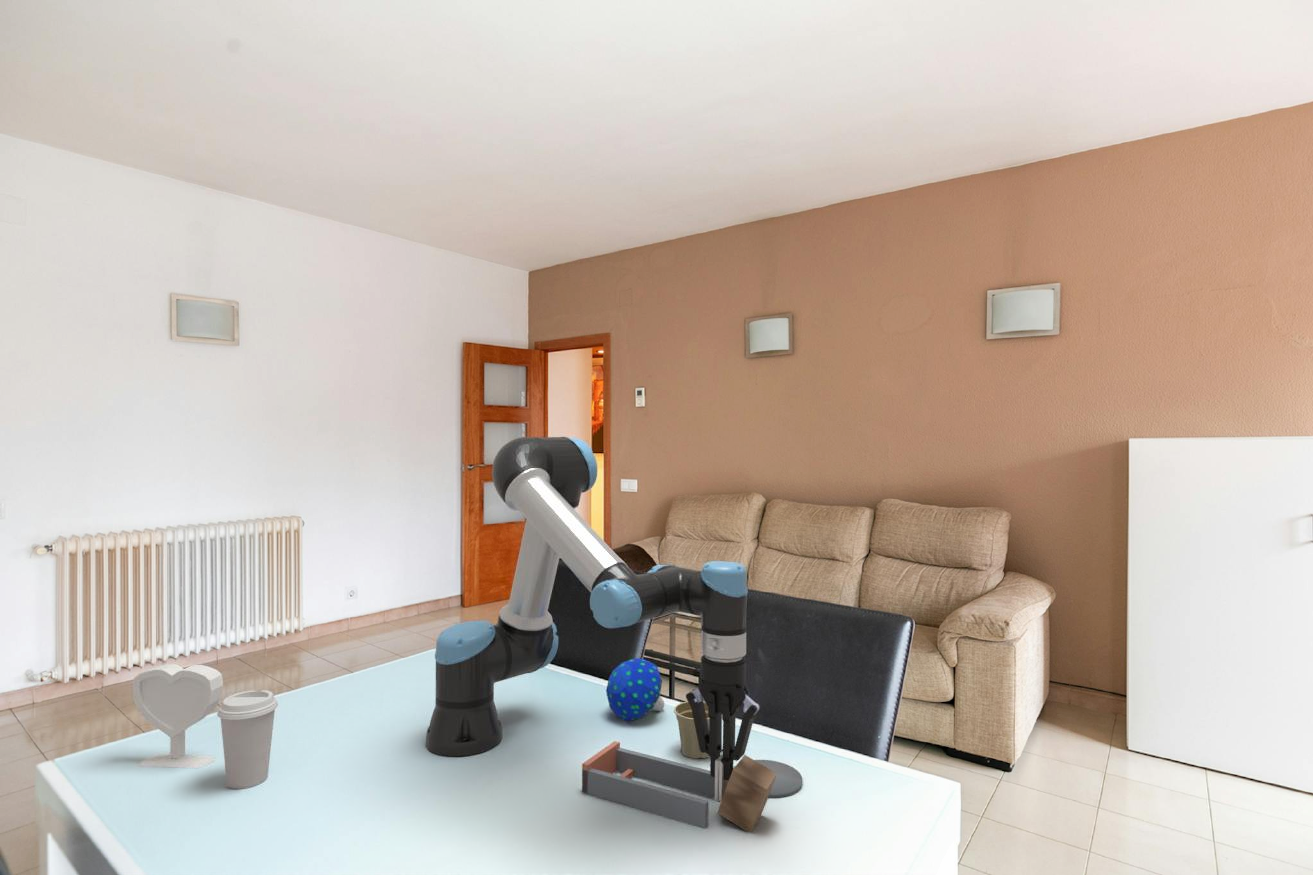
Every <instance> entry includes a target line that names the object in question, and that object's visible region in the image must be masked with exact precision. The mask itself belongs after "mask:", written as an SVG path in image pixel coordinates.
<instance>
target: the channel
mask: <svg viewBox="0 0 1313 875" xmlns="http://www.w3.org/2000/svg"><path fill="white" fill-rule="evenodd" d="M581 766H582V767H581V792H582V793H585V794H589V795H591V796H595V797H598V798H601V799H604V800H608V801H612V802H615V803H617V804H622V805H623V806H624V805H625V806H628V807H631V808H634V809H638V810H641V811H645V812H648V813H651V814H655V815H657V816H662V817H665V818H667V819H672V820H674V821H677V822H681V823H685V824H687V825H691V826H695V827H698V828H701V829H705V830H706V828H707V827H708V826H709V804H710V802H709V800H708V799H705V798H699V797H697V796H696V797H695V796H693V795H688V794H686V793H683V792H679V791H675V790H672V789H668V788H665V787H660V786H658V785H653V784H649V783H646V782H642V781H639V780H636V779H633V777H636V778H639V779H642V780H647V781H650V782H654V783H658V784H661V785H664V786H665V785H666V786H668V787H672V788H675V789H678V790H683V791H687V792H690V793H693V794H696V795H697V794H698V795H702V796H705V797H708V798H712V799H715V777H711V774H710V769H705V768H701V767H697V766H693V765H691V764H685V763H682V762H678V761H675V760H674V761H673V760H669V759H665V758H661V757H658V756H653V755H650V754H646V753H643V752H639V751H634V750H631V749H628V748H627V749H626V748H623V747H621V742H619V741H618V740H616V741H615V740H614V741H613V742H611V743H609V744H608V745H607V746H605V747H604V748H603V749H601V750H600V751H598V752H596V753H595V754H594V755H592V756H591V757H590V758H588V759H587V760H586V761H584V762H583V763H581ZM617 772H618V773H621V774H620V775H619V774H618V775H617V774H615V773H617ZM728 782H729V781H728Z"/></svg>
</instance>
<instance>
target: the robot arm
mask: <svg viewBox="0 0 1313 875" xmlns="http://www.w3.org/2000/svg"><path fill="white" fill-rule="evenodd" d="M491 468H492V469H491V477H492V483H493V486H494V488H495V490H496V492H497V494H498V495H499V497H500V498H501V500H502V501H503V502H504V503H505V505H506V506H507V507H508V508H509V509H511V510H513V511H517V512H520V513H521V514H522V515H523V517H525V520H526V521H525V525H524V529H523V534H522V539H521V544H520V548H519V553H518V557H517V563H516V568H515V571H514V576H513V581H512V586H511V590H510V596H509V600H508V603H507V604H506V605H503V607H502V608H500V610H499V614H498V619H497V623H496V624H493V623H492V622H491V621H487V620H472V621H463V622H459V623H456V624H453V625H451V626H449V627H446V628H445V629H444V630H442V631H441V633H440V634H439V635H438V636H437V639H436V646H435V653H434V659H435V702H434V703H435V704H434V705H435V706H434V709H433V712H432V715H431V719H430V722H429V726H428V727H427V730H426V734H425V746H426V748H427V750H428V751H430V752H431V753H433V754H436V755H439V756H447V757H463V756H464V757H465V756H471V755H475V754H480V753H483V752H486V751H488V750H491V749H493V748H494V747H496V746H497V745H499V744H500V743H501V741H502V738H503V725H502V722H501V720H499V714H498V711H497V710H498V709H497V708H496V704H495V697H494V695H495V693H494V692H495V691H494V690H495V683H498V682H502V681H505V680H508V679H509V680H510V679H512V678H515V677H519V676H523V675H527V674H533V673H534V672H537V671H538V670H540V669H543V668H546V666H548V665H549V664H550V663H551V662H552V661H553V660H554V658H555V656H556V654H557V652H558V647H559V636H558V635H557V632H558V630H557V626H556V624H555V622H554V621H553V616H552V614H551V613H550V612H549V611H548V610H549V607H550V606H549V605H550V600H551V598H552V594H553V593H552V591H553V588H554V585H555V584H554V583H555V579H556V575H557V570H558V566H559V561H560V559H561V560H562V562H564V564H565V565H566V566H567V567H568V568H569V569H570V570H571V571H572V572H573V574H574V575H575V576H576V577H577V578H578V580H579V581H580V582H581V584H583V585H584V587H585V588H586V589H587V590H588V591H589V592H590V597H589V607H590V610H591V611H592V614H593V618H594V620H595V621H596V622H597V624H598V625H599V626H601V627H604V628H606V629H618V628H623V627H630V626H633V625H635V624H638V623H641V622H644V621H647V620H652V619H656V618H660V617H663V616H667V615H670V614H674V613H685V614H690V615H694V616H697V617H698V616H699V617H700V618H701V622H700V624H701V627H700V629H701V636H700V637H701V638H700V639H701V640H700V642H701V643H700V646H701V647H700V649H701V650H700V653H701V654H702V656H701V657H700V682H699V683H698V687H697V688H693V689H692V690H690V691H689V692H688V693H686V694H685V698H686V702H687V701H688V703H689V704H690V706H691V709H692V714H693V719H694V724H695V729H696V734H697V739H698V744H699V748H700V751H701V752H702V753H707V754H708V755H709V758H710V762H709V763H710V764H709V765H710V769H709V771H710V774H711V777H715V798H714V801H718V802H721V800H722V798H723V795H724V792H725V790H726V787H727V784H728V781H729V779H730V776H731V774H732V771H733V768H734V761H736V762H737V761H740V760H741V759H742V758H743V756H744V755H746V754H745V753H746V750H747V746H748V742H749V738H750V734H751V732H752V728H753V723H754V720H755V716H756V714H758V712H759V711H760V709H761V708H762V705H761V703H760V701H754V700H753V699H752V698H751V697H749V691H748V689H747V686H746V679H747V678H746V677H747V674H746V673H747V659H746V657H745V656H746V655H747V601H748V592H749V589H748V586H747V585H748V583H747V579H748V578H747V569H746V567H745V566H744V565H743V564H742V563H739V562H735V561H726V560H725V561H724V560H714V561H713V560H712V561H708V562H705V563H704V564H703V566H702V568H701V570H698V569H697V570H696V569H691V568H687V567H686V568H685V567H679V566H676V565H672V564H667V565H666V564H665V565H664V564H657V565H654V566H652V568H651V569H650V570H648V571H647V572H646V573H641V574H636V573H635V572H634V571H633V570H632V569H631V568H630V567H629V566H628V565H627V563H625V562H624V561H623V560H622V559H621V557H620V556H619V555H617V553H616V552H615V551H614V550H613V549H612V548H611V547H610V546H609V545H608V543H606V542H605V541H604V539H603V538H602V537H601V536H600V535H599V534H598V533H597V532H596V531H595V530H594V529H593V528H592V526H590V524H588V522H587V521H586V520H585V519H584V518H583V517H582V516H581V514H579V513H578V512H577V510H576V508H578V507H579V505H580V501H581V495H582V494H583V493H586V492H587V491H590V489H592V488H593V487H594V485H595V483H596V482H597V478H598V463H597V459H596V456H595V455H594V451H593V450H592V448H591V447H590V445H589V444H588V443H587V442H585V441H584V440H582V439H580V438H576V437H568V436H556V437H555V436H547V437H545V436H544V437H543V436H542V437H541V436H539V437H538V436H537V437H535V436H522V437H517V438H515V439H512V440H510V441H508V442H507V443H506V444H504V445H503V446H502V447H501V448H500V449H499V450H498V452H497V454H496V455H495V457H494V459H493V462H492V467H491ZM703 701H704V702H706V704H707V706H708V716H709V718H710V721H709V727H708V722H707V718H706V713H705V708H704V703H703ZM742 705H743V713H744V714H743V717H742V718H741V723H740V726H739V730H738V734H737V738H736V717H737V713H738V710H739V708H741V706H742Z"/></svg>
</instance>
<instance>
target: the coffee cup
mask: <svg viewBox="0 0 1313 875" xmlns="http://www.w3.org/2000/svg"><path fill="white" fill-rule="evenodd" d="M278 707H279V703H278V700H277V698H276V697H275V696H274V693H273V692H272V691H270V690H267V689H266V690H265V689H255V690H254V689H253V690H245V691H242V692H241V691H240V692H237V693H233V694H231V695H228V696H227V697H226V698H224V699H223V700H222V704H221V705H220V706H219V708H218V710H217V713H216V715H217V717H218V718H220V725H221V727H220V728H221V737H222V747H223V758H224V769H225V770H224V771H225V781H226V786H227V788H229V789H233V790H243V789H250V788H253V787H256V786H258V785H260V784H263V783H264V782H265V781H266V780H267V779H268V777H269V769H270V761H271V760H270V757H271V751H272V750H271V747H272V740H273V729H274V720H275V712H276V711H275V710H276V709H277V708H278Z"/></svg>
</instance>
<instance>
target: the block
mask: <svg viewBox="0 0 1313 875" xmlns="http://www.w3.org/2000/svg"><path fill="white" fill-rule="evenodd" d="M755 760H756V759H753V758H752V757H749V756H747V755H746V754H744V755H743V756H742V757H741V758H740V759H739V760H738V761H739V762H738V763H737V764H736V765H734V767H735V768H734V767H733V768H734V769H733V771H732V774H731V776H730V779H729V782H728V784H727V787H726V790H725V792H724V795H723V798H722V800H721V801H720V804H719V805H718V806H719V807H718V809H717V811H716V813H718V814H719V815H721V816H722V817H723V818H725V819H727V820H729V821H730V822H731V823H733V824H734V825H737V826H738V827H740V828H741V829H743V830H744V831H746V832H748V833H750V834H751V833H752V831H753V829H754V828H755V826H756V825H757V823H758V821H759V820H760V818H761V816H763V812H764V809H765V807H766V804H767V802H768V799H769V798H768V797H769V794H770V791H771V789H772V786H773V784H774V781H775V778H776V776H777V773H775V772H774V771H772V770H770V769H768V768H767V767H765V766H763V765H762V764H760V763H758V762H756V761H755Z"/></svg>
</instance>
